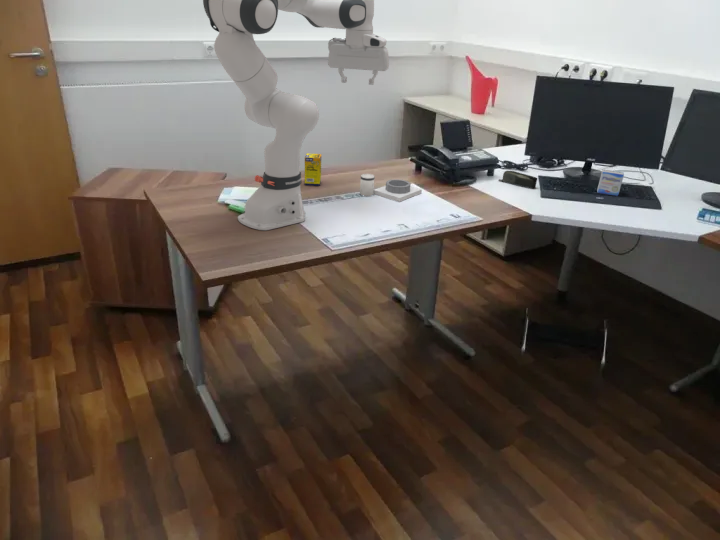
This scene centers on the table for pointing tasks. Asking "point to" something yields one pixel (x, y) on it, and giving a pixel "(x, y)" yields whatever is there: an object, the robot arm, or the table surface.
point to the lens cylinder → (367, 184)
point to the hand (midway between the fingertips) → (357, 83)
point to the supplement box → (313, 169)
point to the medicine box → (610, 182)
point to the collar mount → (397, 190)
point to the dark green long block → (519, 179)
